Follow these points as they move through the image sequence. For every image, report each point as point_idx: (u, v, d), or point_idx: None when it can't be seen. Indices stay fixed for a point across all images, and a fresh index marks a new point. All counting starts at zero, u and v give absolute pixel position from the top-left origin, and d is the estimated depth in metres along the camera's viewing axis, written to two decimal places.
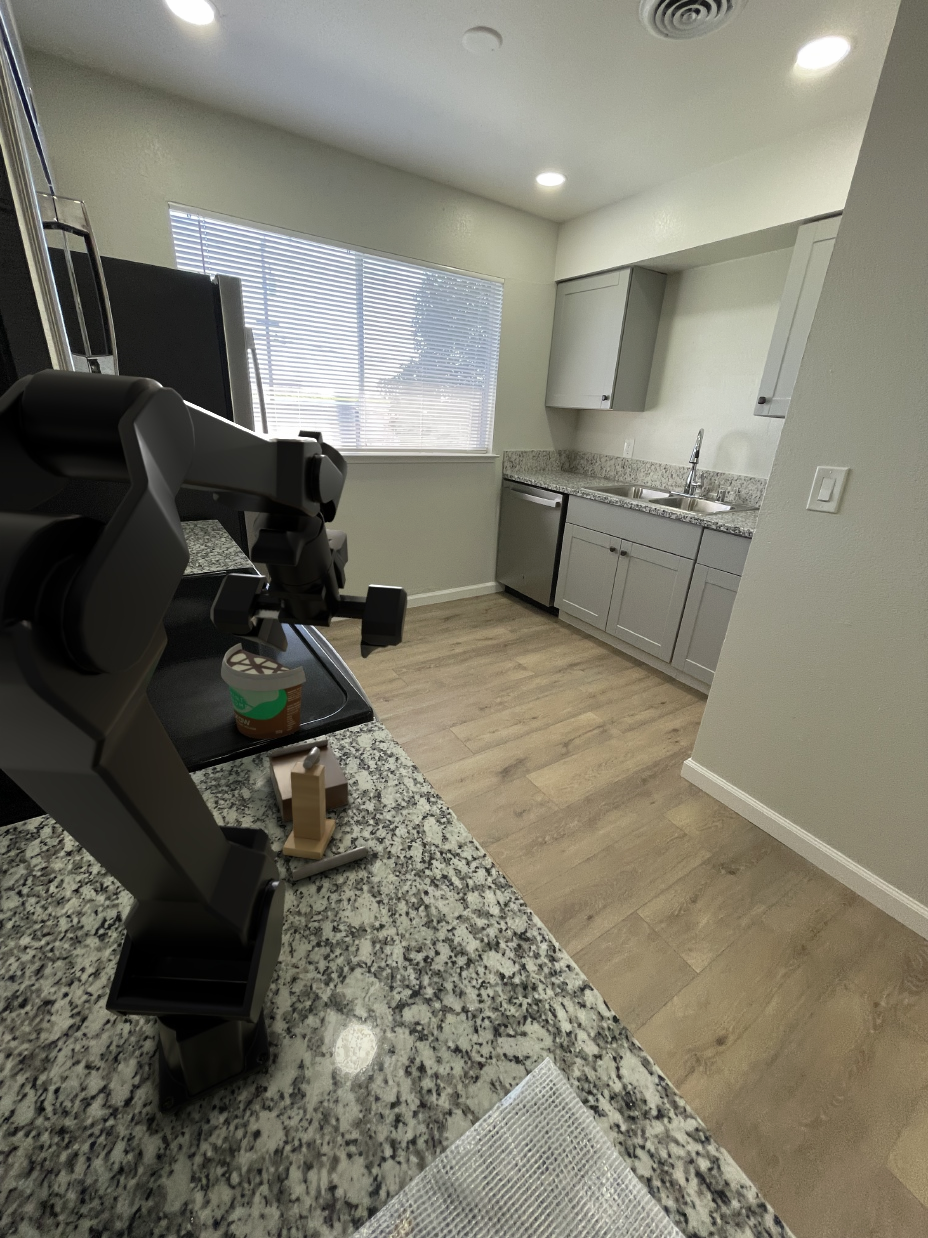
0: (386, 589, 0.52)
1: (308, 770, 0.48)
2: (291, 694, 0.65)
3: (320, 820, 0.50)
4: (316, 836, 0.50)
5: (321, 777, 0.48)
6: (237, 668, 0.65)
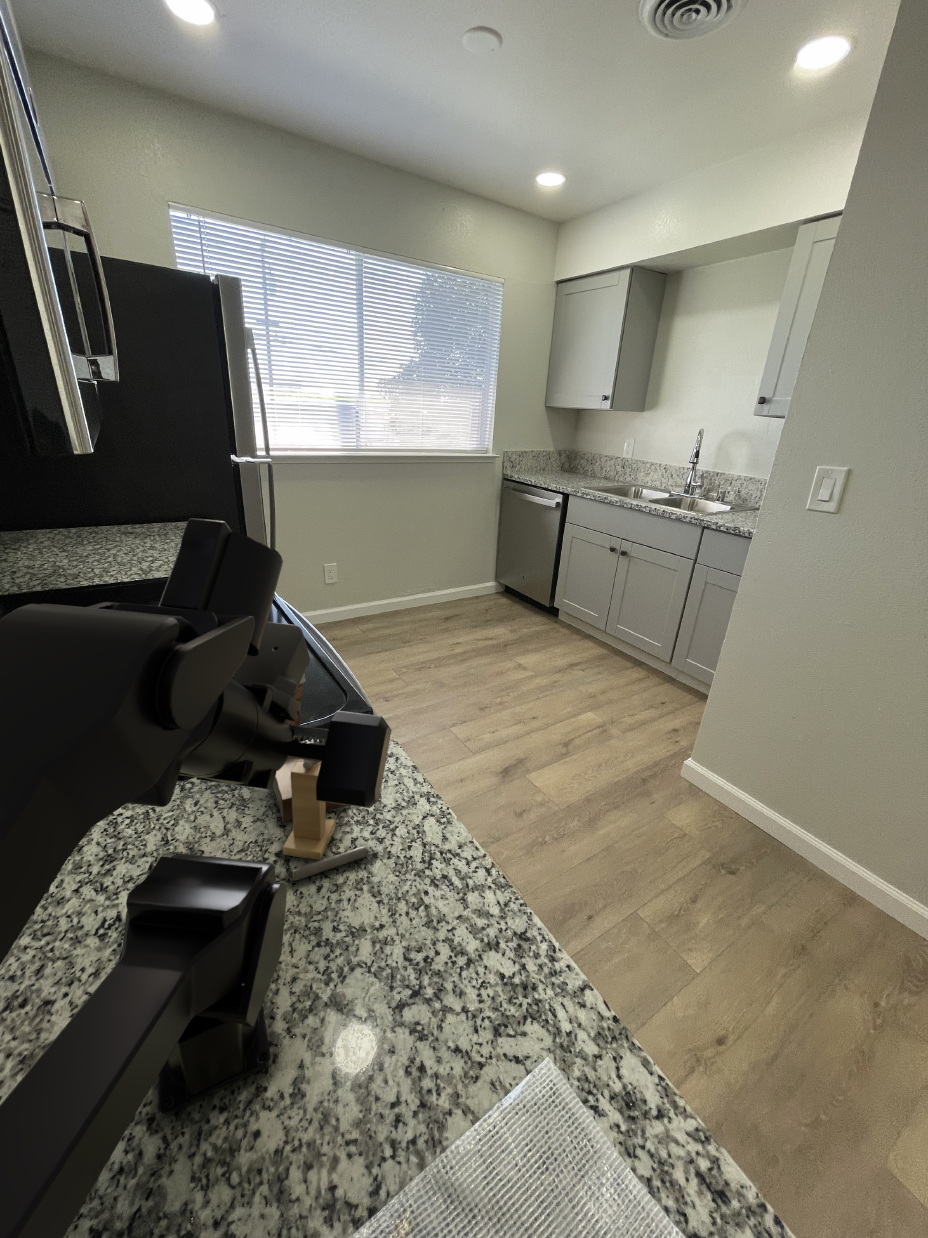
0: (356, 728, 0.35)
1: (308, 770, 0.48)
2: None
3: (320, 820, 0.50)
4: (316, 836, 0.50)
5: None
6: None
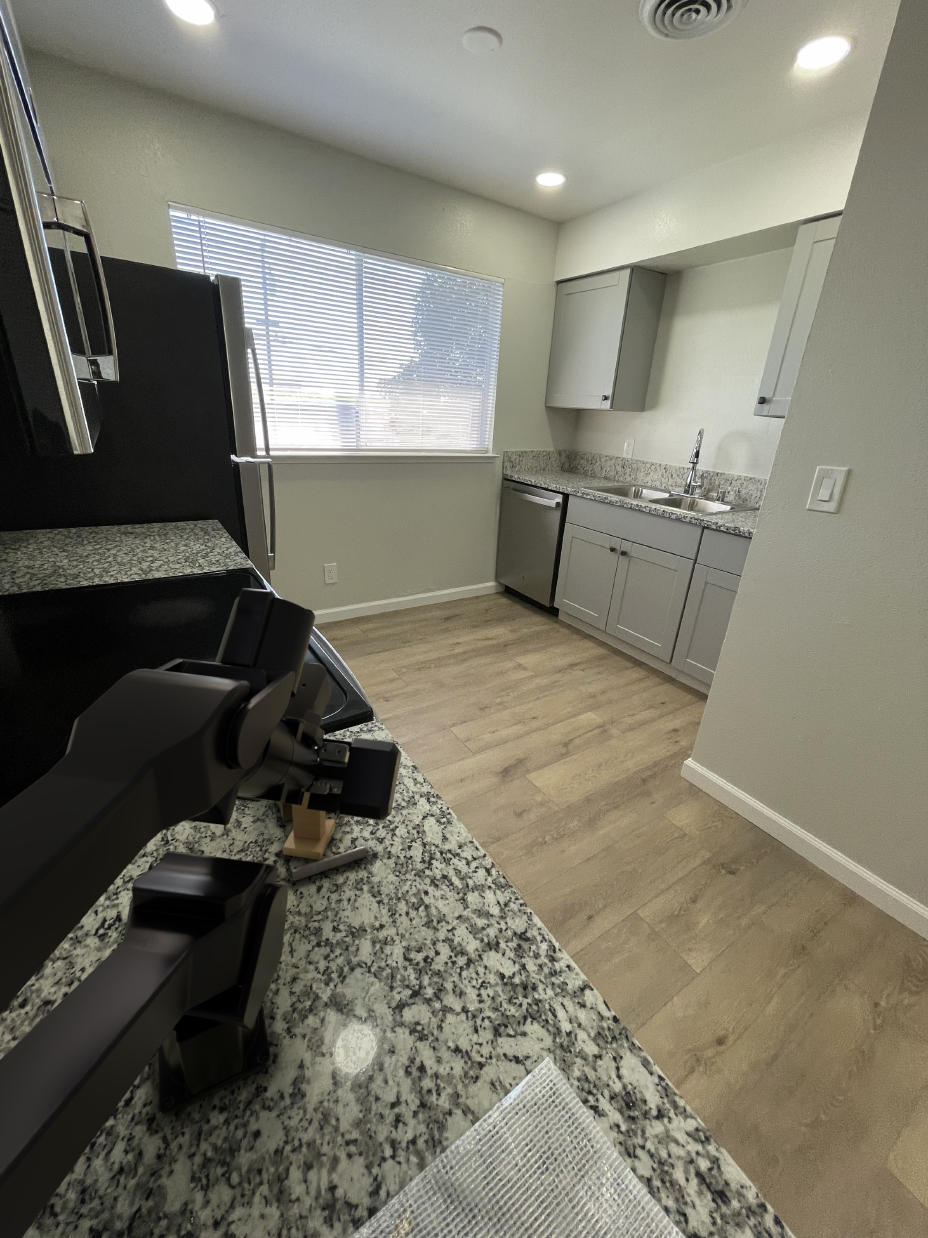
0: (372, 753, 0.42)
1: None
2: None
3: (320, 820, 0.50)
4: (316, 836, 0.50)
5: None
6: None
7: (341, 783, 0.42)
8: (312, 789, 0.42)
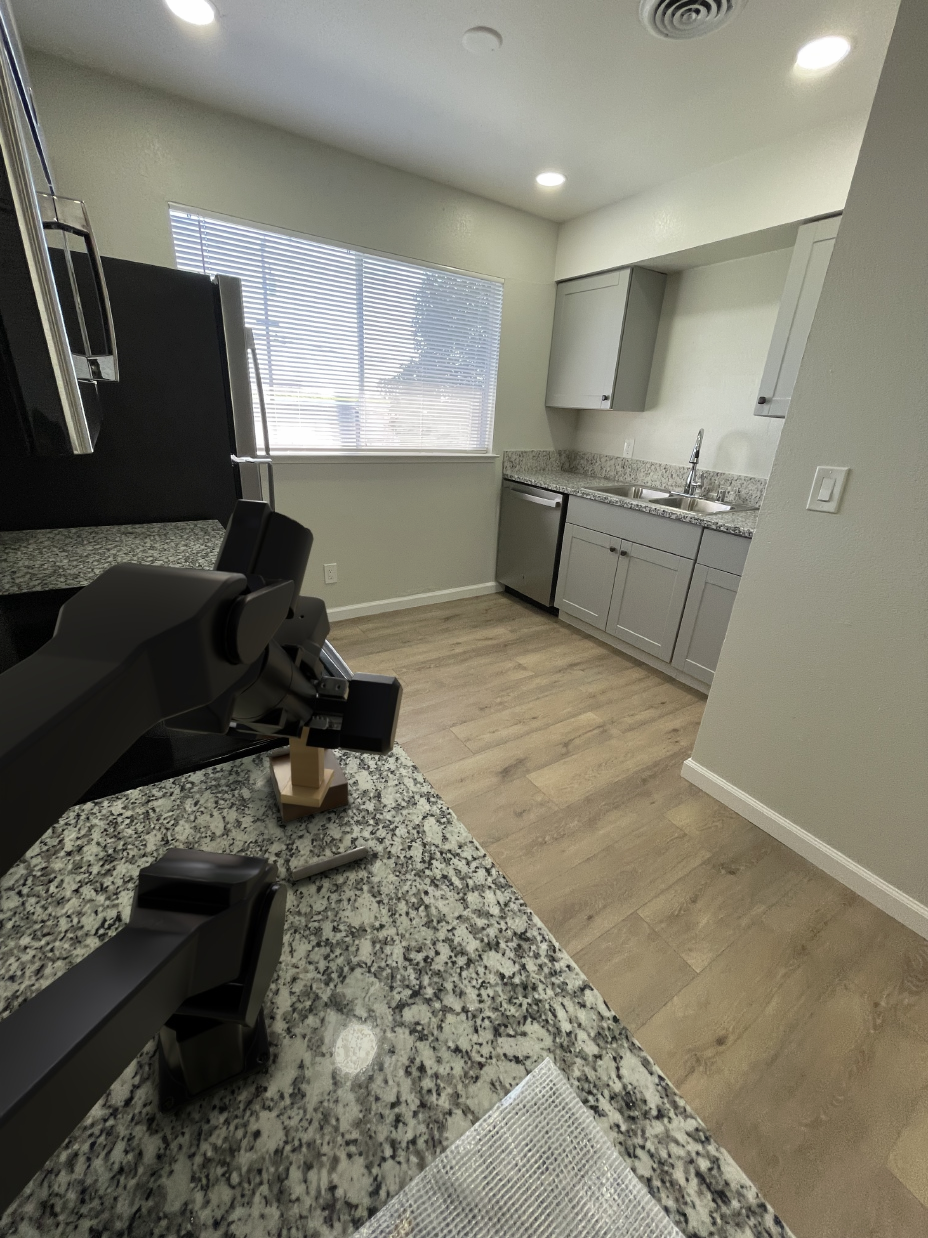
0: (373, 685, 0.40)
1: None
2: None
3: (319, 766, 0.48)
4: (315, 784, 0.49)
5: None
6: None
7: (341, 718, 0.41)
8: (311, 724, 0.40)
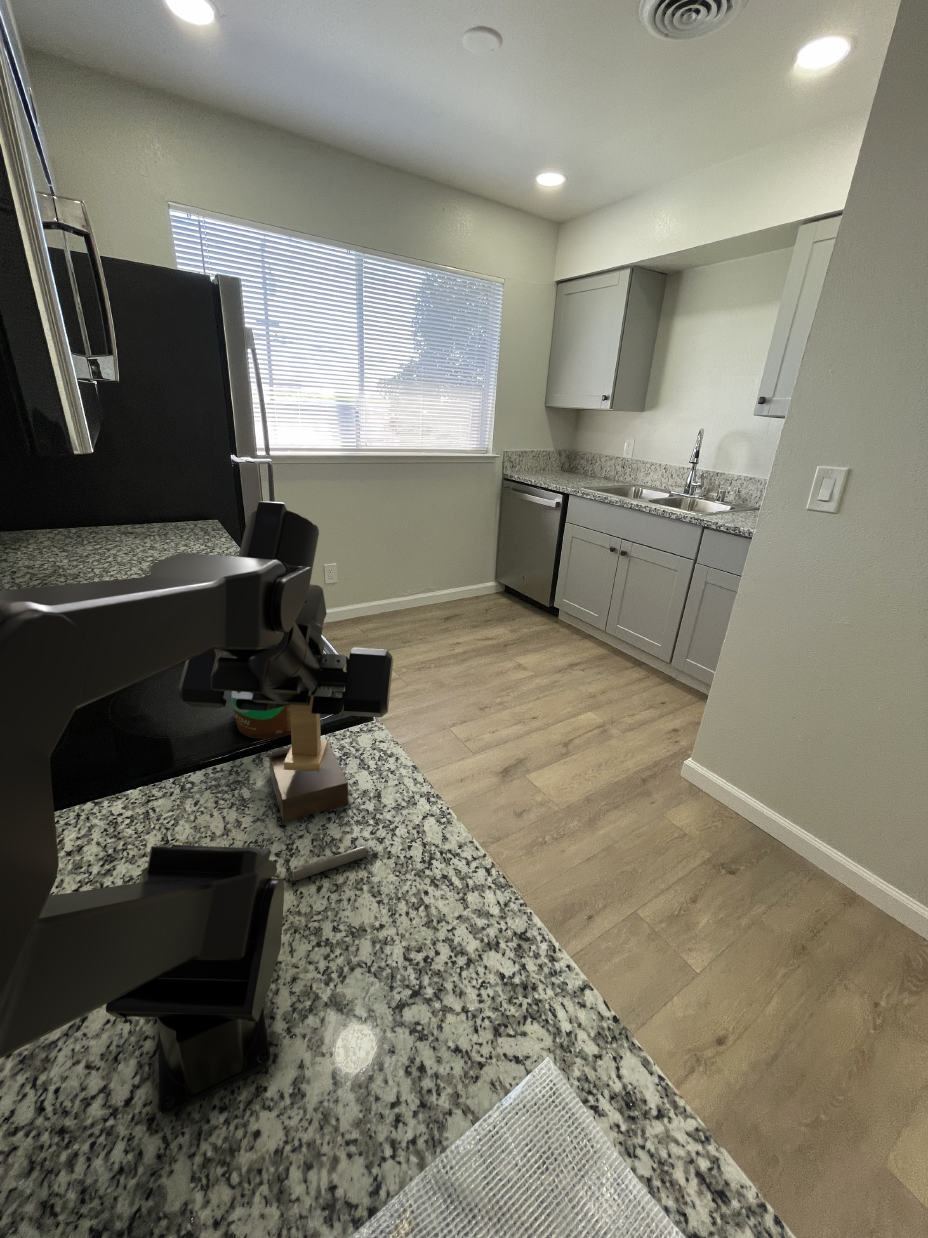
0: (369, 658, 0.47)
1: None
2: None
3: (317, 735, 0.55)
4: (313, 751, 0.56)
5: None
6: None
7: (342, 687, 0.48)
8: (317, 693, 0.47)
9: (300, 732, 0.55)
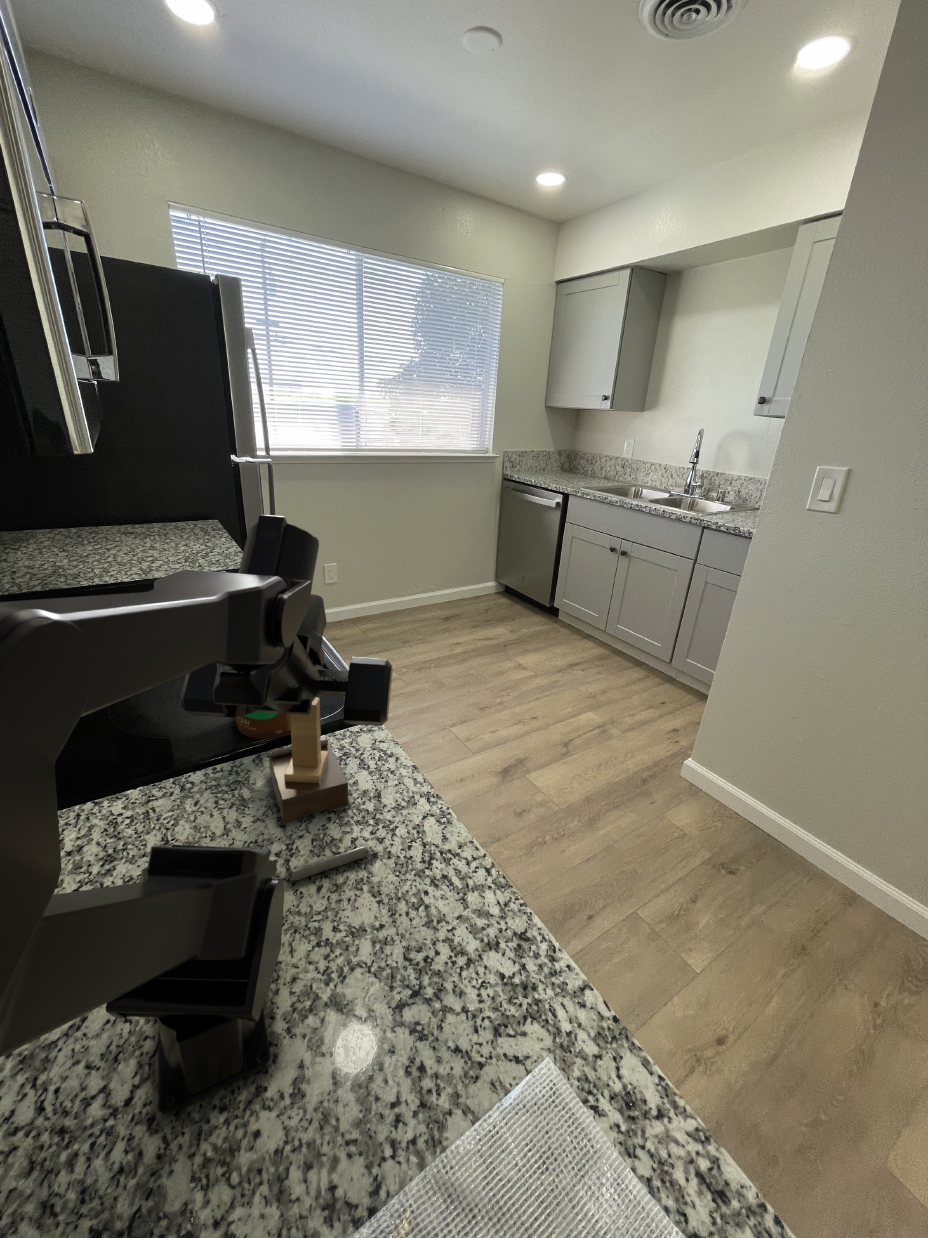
0: (369, 667, 0.48)
1: None
2: None
3: (317, 747, 0.55)
4: (314, 763, 0.56)
5: (317, 707, 0.54)
6: None
7: None
8: None
9: (300, 744, 0.55)
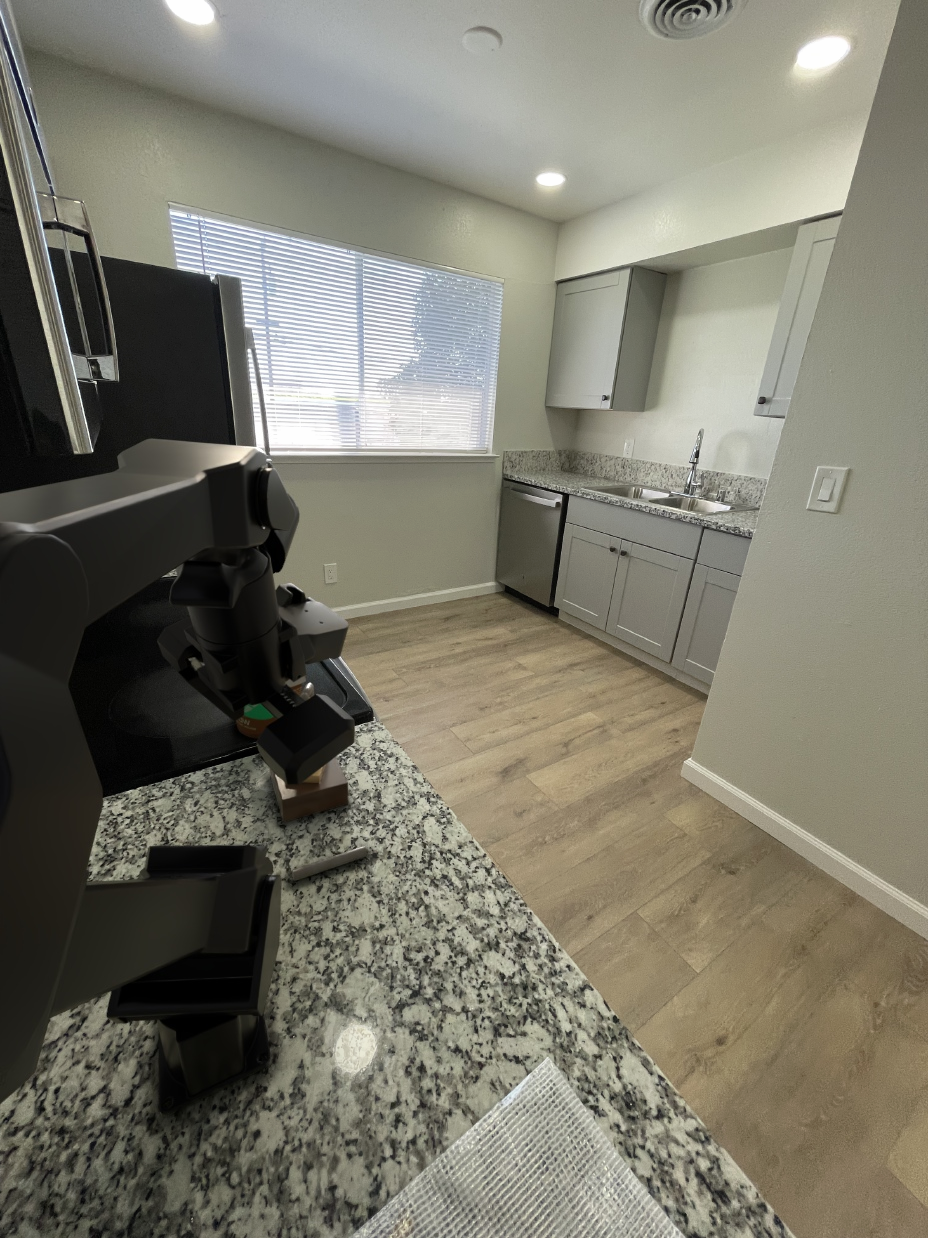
0: (328, 710, 0.38)
1: None
2: None
3: None
4: None
5: None
6: None
7: None
8: None
9: None
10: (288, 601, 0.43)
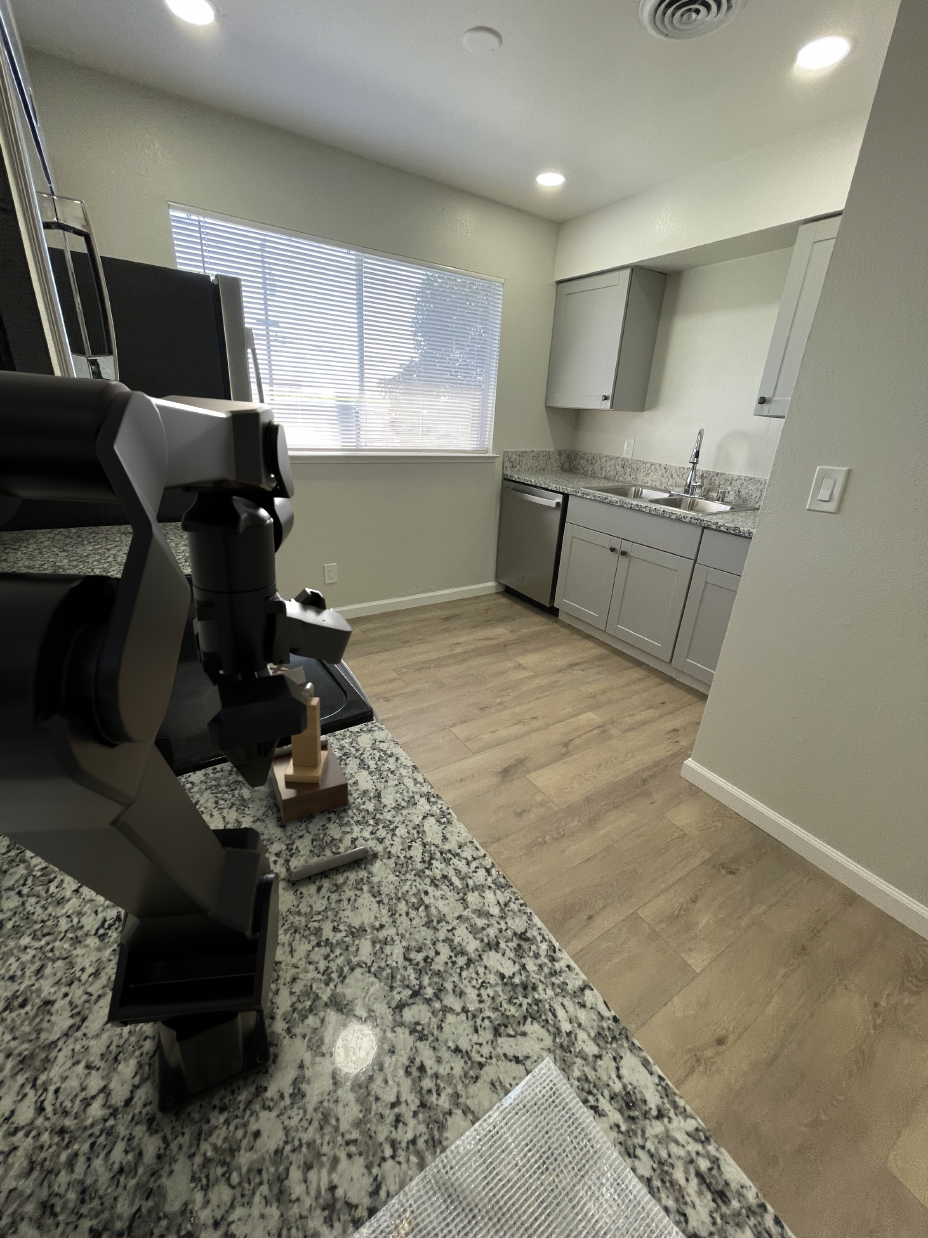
0: (283, 687, 0.35)
1: (305, 701, 0.54)
2: None
3: (317, 747, 0.55)
4: (314, 763, 0.56)
5: (317, 707, 0.54)
6: None
7: None
8: None
9: (300, 744, 0.55)
10: (305, 601, 0.44)
